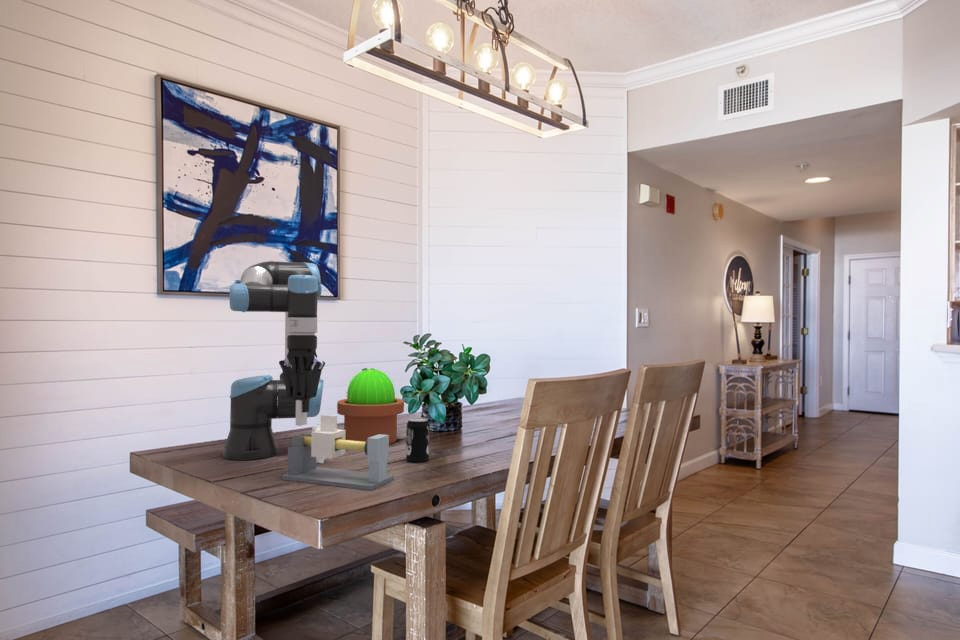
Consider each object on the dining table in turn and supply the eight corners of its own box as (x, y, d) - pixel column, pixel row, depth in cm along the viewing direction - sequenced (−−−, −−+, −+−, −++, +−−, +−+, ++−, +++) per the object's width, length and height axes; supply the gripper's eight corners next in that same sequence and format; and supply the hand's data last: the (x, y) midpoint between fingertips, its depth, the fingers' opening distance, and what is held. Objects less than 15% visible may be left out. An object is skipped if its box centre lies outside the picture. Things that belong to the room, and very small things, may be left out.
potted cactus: (399, 448, 193) (400, 369, 193) (330, 448, 193) (331, 369, 193) (406, 435, 215) (407, 365, 215) (344, 435, 215) (345, 364, 215)
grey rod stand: (282, 479, 154) (282, 432, 154) (308, 469, 164) (309, 426, 165) (371, 490, 145) (372, 441, 145) (393, 479, 155) (394, 433, 155)
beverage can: (425, 463, 173) (425, 421, 173) (403, 462, 174) (403, 420, 174) (431, 458, 179) (432, 418, 179) (410, 457, 181) (410, 417, 181)
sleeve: (311, 456, 154) (311, 416, 154) (325, 451, 160) (326, 413, 160) (331, 458, 152) (331, 417, 152) (345, 453, 158) (345, 414, 158)
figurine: (339, 462, 173) (339, 420, 173) (324, 465, 169) (324, 422, 169) (316, 457, 180) (317, 416, 180) (302, 460, 176) (302, 418, 176)
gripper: (272, 334, 158) (271, 425, 157) (314, 334, 153) (313, 428, 153) (290, 333, 165) (289, 421, 164) (331, 334, 160) (330, 424, 160)
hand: (301, 424), depth 159 cm, fingers closed
